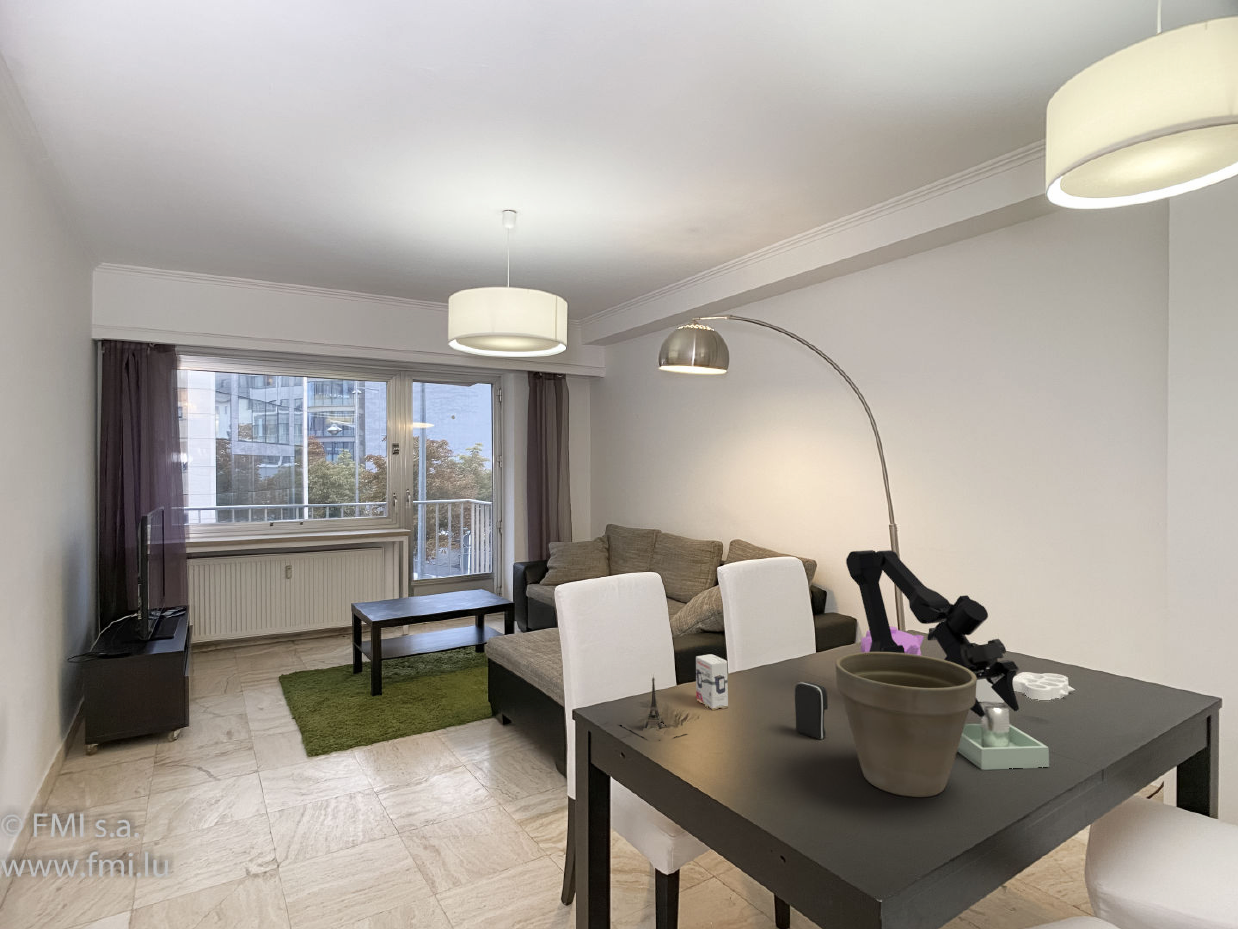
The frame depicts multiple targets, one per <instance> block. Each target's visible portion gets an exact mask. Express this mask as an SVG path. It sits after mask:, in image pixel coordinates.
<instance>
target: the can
mask: <svg viewBox="0 0 1238 929" xmlns="http://www.w3.org/2000/svg"><path fill="white" fill-rule="evenodd" d="M980 705H981V707H982V709H983V711H984V713H985V716H983V717H980V724H981V746H982V747H983V748H989V747H1010V738H1009V724H1010V707H1009V706H1007V704H1004V703H993V702H980Z"/></svg>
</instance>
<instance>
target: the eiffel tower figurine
mask: <svg viewBox="0 0 1238 929" xmlns="http://www.w3.org/2000/svg"><path fill="white" fill-rule="evenodd" d="M654 676H655V675H652V678H651V681H652V682H651V683H652V684H651V686H652V687H651V688H652V689H651V704H650V707H649V708H650V710H649V714H648V716H647V719H646V721H645V723H646V724H645V723H644V724H645V726H644V725H643V726H644V728H647V727H648V725H657V726H658V727H659V729H662V724H661V723H663V724H664V723H665V722H664V720H663V719H662V717H661V714H660V712H659V710H658V705H657V699H656V687H655V686H656V685H655V680H656V679H655V677H654ZM653 712H654V714H653Z"/></svg>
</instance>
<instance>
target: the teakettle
mask: <svg viewBox="0 0 1238 929" xmlns="http://www.w3.org/2000/svg"><path fill="white" fill-rule="evenodd" d="M890 630H891V634H892V638H893V640H894V641H895V642H896V644H897V645H902V646H903V647H904V651H905V653H906V654H914V655H921V656H922V652H921V645H922V644H923V640H924V639H925V636H924V635H922V634H921V635H920V634H915V635H913V634H911V633H909V632H906V631H902V630H898V628H897V627H896V626H890ZM871 645H872V639H871V634H870V630H869V629H868V630H867V631H866V633H865V636H864V637H861V643H860V653H861V652H869V651H870V648H871Z"/></svg>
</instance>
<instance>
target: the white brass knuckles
mask: <svg viewBox="0 0 1238 929" xmlns="http://www.w3.org/2000/svg"><path fill="white" fill-rule="evenodd" d="M1013 688H1014V691H1017V692H1016V693H1018V692H1022V693H1021V694H1023V693H1025V694H1024V696H1025V695H1026V696H1027V697H1026V696H1025V697H1026V698H1028V697H1029V698H1028V699H1030V698H1031V700H1033V699H1038V700H1037V701H1039V700H1051V699H1052V700H1055V698H1059V699H1058V700H1060V699H1064V698H1065V696H1068V695H1069V692H1073V691H1075V690H1076V689H1075V688H1073V687H1071V686H1070V685H1069V677H1067V676H1066V675H1062V674H1059V673H1052V672H1051V673H1048V672H1047V673H1046V672H1045V673H1035V672H1030V671H1027V672H1026V671H1022V672H1020V673H1016V676H1015V677H1013ZM1063 697H1064V698H1063Z"/></svg>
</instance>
